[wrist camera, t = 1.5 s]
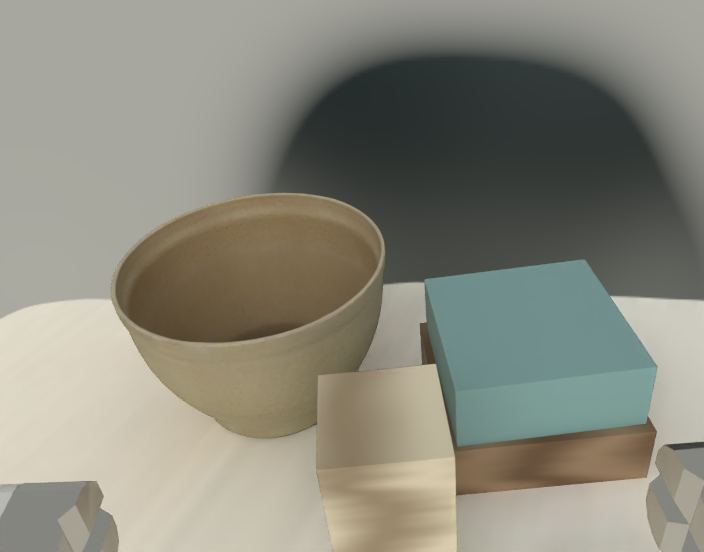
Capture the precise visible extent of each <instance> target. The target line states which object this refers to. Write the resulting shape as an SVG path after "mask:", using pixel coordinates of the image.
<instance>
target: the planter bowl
mask: <svg viewBox="0 0 704 552" xmlns="http://www.w3.org/2000/svg"><path fill="white" fill-rule="evenodd" d="M384 267H385V244H384V240H383V237H382V234H381V232H380V230H379V229H378V227H377V226H376V224H375V223H374V222H373V221H372V220H371V219H370V218H369V217H368V216H366V215H365V214H364V213H362V212H361V211H359V210H358V209H356V208H354V207H352V206H350V205H348V204H346V203H344V202H341V201H338V200H335V199H332V198H327V197H322V196H317V195H308V194H298V193H269V194H258V195H248V196H243V197H238V198H233V199H228V200H224V201H221V202H217V203H214V204H210V205H207V206H204V207H201V208H197V209H195V210H192V211H189V212H187V213H184V214H182V215H180V216H178V217H176V218H174V219H171V220H169V221H168V222H166V223H164V224H162V225H161V226H159V227H157V228H155V229H154V230H152V231H151V232H150V233H148V234H147V235H145V237H143V238H142V239H140V240H139V241H138V242H137V243H136V244H135V245H134V246H133V247H132V248H131V249H130V250H129V251H128V252H127V253H126V254H125V256H124V257H123V258H122V260H121V261H120V263H119V264H118V266H117V268H116V270H115V272H114V275H113V278H112V283H111V298H112V302H113V305H114V307H115V310H116V312H117V314H118V316H119V318H120V320H121V321H122V323H123V324H124V326H125V327H126V328H127V329H128V331H129V332H130V335H131V337H132V339H133V342H134V343H135V345H136V347H137V349H138V351H139V352H140V354H141V356H142V357H143V359H144V360H145V362H146V363H147V365H148V366H149V368H150V369H151V370H152V372H153V373H154V374H155V375H156V376H157V377H158V378H159V380H160V381H161V382H162V383H163V384H164V385H165V386H166V387H167V388H168V389H170V390H171V391H172V392H173V393H174V394H175V395H177V396H178V397H179V398H181V399H182V400H183V401H185V402H186V403H188V404H189V405H191V406H192V407H194V408H196V409H197V410H199V411H201V412H203V413H205V414H207V415H209V416H212V417H214V418H215V419H216V421H217V422H218V423H220V424H221V425H222V426H223V427H225V428H226V429H228V430H230V431H232V432H235V433H237V434H240V435H244V436H248V437H256V438H271V437H280V436H285V435H289V434H293V433H296V432H299V431H301V430H304V429H306V428H308V427H310V426H312V425H314V424H315V423H317V402H318V375H327V374H338V373H348V372H356V371H357V370H358V368H359V367H360V365H361V363H362V361H363V360H364V358H365V356H366V354H367V352H368V350H369V347H370V345H371V342H372V340H373V337H374V334H375V331H376V328H377V324H378V320H379V316H380V310H381V303H382V292H383V272H384Z"/></svg>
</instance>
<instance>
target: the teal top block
mask: <svg viewBox="0 0 704 552" xmlns="http://www.w3.org/2000/svg"><path fill="white" fill-rule="evenodd" d="M424 282H425V300H426V318H427V331H428V335H429V339H430V343H431V347H432V350H433V354H434V358H435V362H436V366H437V370H438V374H439V378H440V382H441V386H442V390H443V394H444V398H445V401H446V405H447V409H448V413H449V417H450V421H451V425H452V429H453V433H454V437H455V441H456V445H457V447H460V446H468V445H477V444H485V443H493V442H502V441H510V440H518V439H526V438H535V437H543V436H551V435H559V434H567V433H575V432H584V431H592V430H600V429H608V428H616V427H624V426H632V425H641V424H646V422H647V417H648V412H649V407H650V402H651V397H652V392H653V387H654V382H655V377H656V372H657V365H656V364H655V362H654V361H653V359H652V358H651V356H650V355H649V353H648V352H647V351H646V349H645V348H644V346H643V345H642V343H641V342H640V340H639V339H638V337H637V336H636V334H635V333H634V331H633V330H632V328H631V327H630V325H629V324H628V322H627V321H626V320H625V318H624V317H623V315H622V314H621V312H620V311H619V309H618V308H617V306H616V305H615V303H614V302H613V300H612V299H611V297H610V296H609V294H608V293H607V292H606V290H605V289H604V287H603V286H602V284H601V283H600V281H599V280H598V278H597V277H596V275H595V274H594V272H593V271H592V269H591V268H590V266H589V265H588V263H587V262H586V260H585V259H584V260H576V261H568V262H561V263H552V264H544V265H536V266H528V267H519V268H512V269H503V270H495V271H488V272H479V273H471V274H463V275H455V276H448V277H440V278H432V279H425V280H424Z"/></svg>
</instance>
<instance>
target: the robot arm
mask: <svg viewBox="0 0 704 552" xmlns="http://www.w3.org/2000/svg"><path fill="white" fill-rule="evenodd" d="M655 464H656V466H657V468H658V470H659V472H660V474H661V475H659V476H658V477H657V478H656V479H655V480H653V481H652V482H651V483H650V484H649V488H648V493H647V498H646V504H647V516H648V521H649V525H650V528H651V531H652V534H653V537H654V539H655V541H656V544H657V546H658V548H659V550H660V551H661V552H704V442H694V443H681V444H668V445H664V446H663V447H662V448H661V449H660V450H659V451H658V454H657V458H656V461H655ZM103 497H104V496H103V494H102V491H101V489H100V487H99V485H98V483H97V481H78V482H49V483H23V484H4V485H0V552H118V545H119V539H118V532H117V526H116V524H115V521H114V519H113V516H112V515H110V514H109V513H107V512H106V511H104V510H102V509H101V508H100V506H101V503H102V500H103Z"/></svg>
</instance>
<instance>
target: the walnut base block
mask: <svg viewBox="0 0 704 552" xmlns="http://www.w3.org/2000/svg"><path fill="white" fill-rule="evenodd" d="M420 334H421V351H422V365H429V364H436V362H435V358H434V354H433V350H432V347H431V343H430V339H429V335H428V331H427V323H420ZM436 367H437V366H436ZM437 372H438V370H437ZM438 377H439V374H438ZM439 382H440V378H439ZM440 386H441V382H440ZM441 391H442V396H443V401H444V406H445V411H446V415H447V420H448V425H449V430H450V435H451V440H452V445H453V449H454V454H455V476H456V495H464V494H475V493H486V492H496V491H507V490H518V489H528V488H539V487H550V486H560V485H571V484H582V483H592V482H603V481H614V480H624V479H635V478H646V477H647V474H648V469H649V465H650V460H651V455H652V451H653V446H654V442H655V437H656V433H657V431H656V430H655V428H654V426H653V424H652V422H651V421H650V419H649V417H647V422H646V424H641V425H632V426H624V427H616V428H608V429H600V430H592V431H584V432H575V433H567V434H559V435H551V436H543V437H535V438H526V439H518V440H510V441H502V442H493V443H485V444H477V445H468V446H460V447H457V445H456V441H455V437H454V433H453V429H452V425H451V421H450V417H449V413H448V409H447V405H446V401H445V398H444V394H443V390H442V386H441Z"/></svg>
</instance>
